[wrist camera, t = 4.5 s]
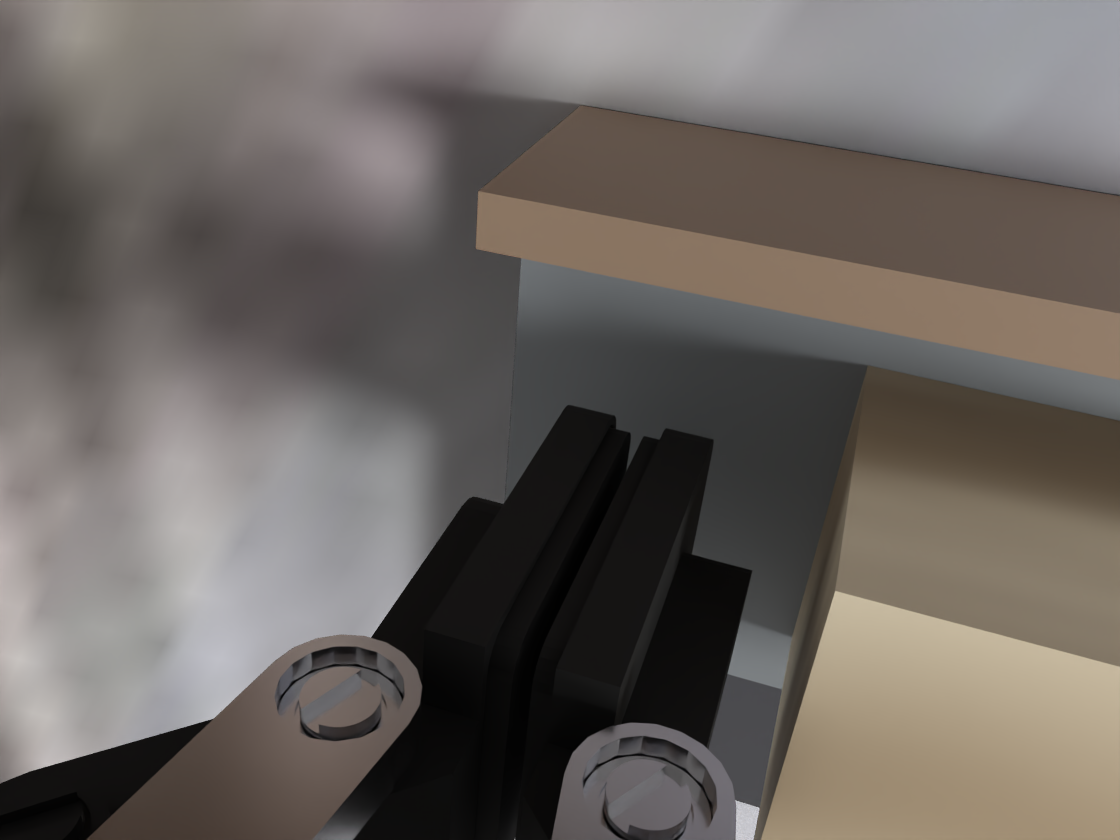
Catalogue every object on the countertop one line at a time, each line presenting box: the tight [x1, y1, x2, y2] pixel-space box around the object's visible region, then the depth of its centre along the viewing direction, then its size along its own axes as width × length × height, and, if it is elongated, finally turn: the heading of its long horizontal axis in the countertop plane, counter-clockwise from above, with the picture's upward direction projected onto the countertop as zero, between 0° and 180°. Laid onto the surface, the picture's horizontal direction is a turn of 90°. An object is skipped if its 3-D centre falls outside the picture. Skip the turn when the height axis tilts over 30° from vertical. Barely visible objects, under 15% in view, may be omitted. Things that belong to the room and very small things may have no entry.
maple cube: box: [754, 365, 1120, 840], centre depth 11 cm, size 4×4×4 cm
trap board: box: [476, 105, 1120, 808], centre depth 13 cm, size 11×15×4 cm
